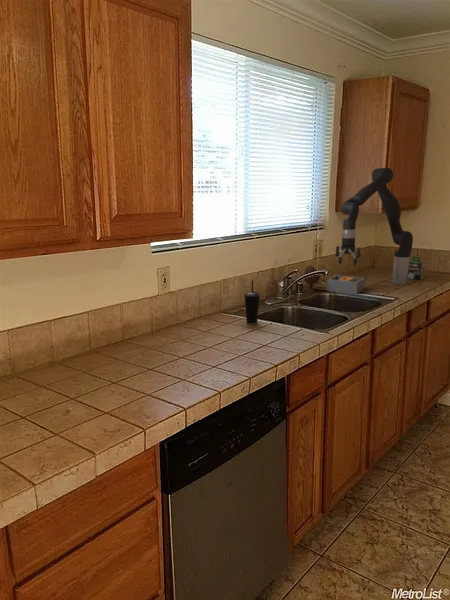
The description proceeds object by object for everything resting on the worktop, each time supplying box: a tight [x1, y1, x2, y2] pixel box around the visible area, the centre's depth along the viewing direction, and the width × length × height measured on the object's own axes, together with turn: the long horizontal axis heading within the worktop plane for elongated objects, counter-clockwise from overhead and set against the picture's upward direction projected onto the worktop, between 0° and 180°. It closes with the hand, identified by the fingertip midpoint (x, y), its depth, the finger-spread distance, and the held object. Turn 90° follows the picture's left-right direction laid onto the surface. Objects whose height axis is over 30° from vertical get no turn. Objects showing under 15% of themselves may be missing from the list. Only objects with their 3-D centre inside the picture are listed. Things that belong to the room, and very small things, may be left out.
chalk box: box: [408, 256, 425, 281], centre depth 340 cm, size 9×9×15 cm
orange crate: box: [339, 276, 354, 282], centre depth 306 cm, size 10×6×6 cm, turn 149°
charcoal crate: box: [326, 274, 366, 295], centre depth 306 cm, size 16×18×7 cm
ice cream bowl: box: [301, 265, 322, 293], centre depth 303 cm, size 11×11×15 cm
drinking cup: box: [243, 280, 262, 324], centre depth 236 cm, size 8×8×20 cm
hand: (347, 264), depth 303 cm, fingers open, 8 cm apart
